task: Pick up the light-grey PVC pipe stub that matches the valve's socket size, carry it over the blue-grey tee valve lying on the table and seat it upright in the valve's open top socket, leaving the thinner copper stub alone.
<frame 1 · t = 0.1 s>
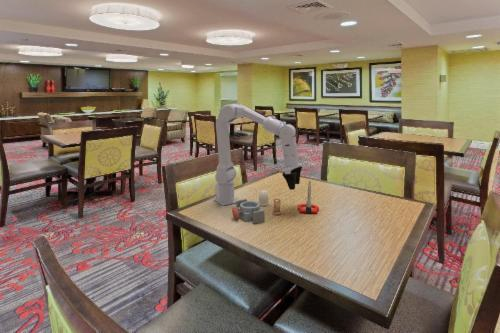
hand: (294, 186, 134), 11 cm above the table, fingers open, 7 cm apart
valve: (249, 216, 131), on the table
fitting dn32: (276, 213, 133), on the table
tow hook: (308, 210, 138), on the table
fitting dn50: (263, 204, 144), on the table
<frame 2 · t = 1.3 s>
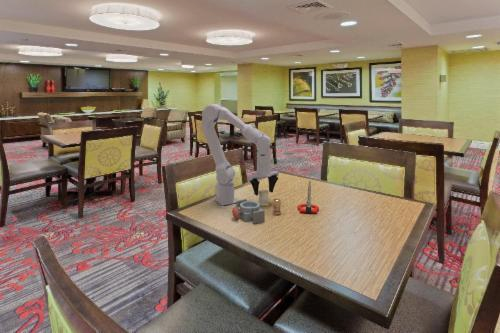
hand: (263, 193, 143), 5 cm above the table, fingers open, 7 cm apart
nothing on the table moved.
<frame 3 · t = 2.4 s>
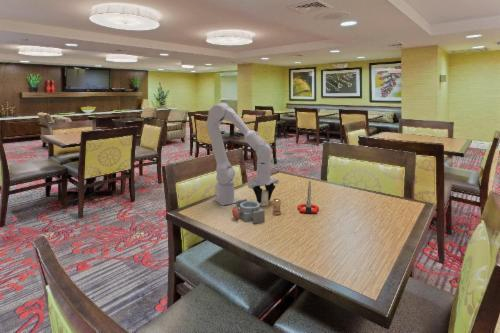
hand: (263, 201, 144), 1 cm above the table, fingers closed on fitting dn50, 4 cm apart
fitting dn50: (263, 204, 144), on the table, touching gripper
everything else where it was.
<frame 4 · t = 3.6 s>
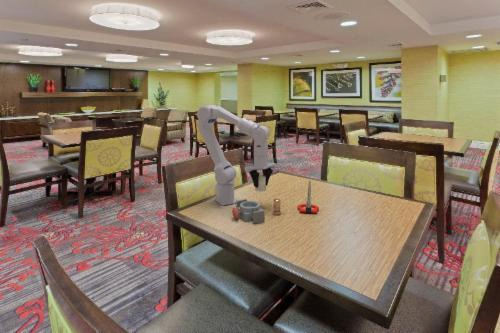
hand: (260, 186, 139), 9 cm above the table, fingers closed on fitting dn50, 4 cm apart
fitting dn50: (260, 189, 139), point 8 cm above the table, touching gripper
everything else where it was.
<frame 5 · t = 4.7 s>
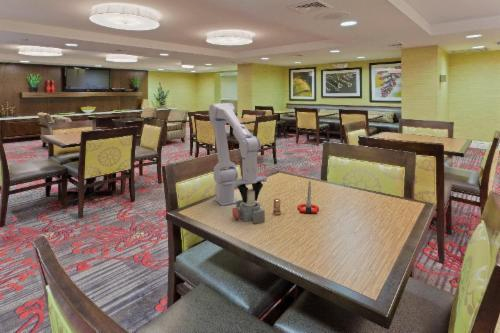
hand: (249, 201, 129), 6 cm above the table, fingers closed on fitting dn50, 4 cm apart
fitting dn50: (249, 204, 130), point 5 cm above the table, touching gripper
everything else where it was.
when the fingers open (6 cm above the table, at t = 5.2 s): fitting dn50 stays where it is, resting on valve.
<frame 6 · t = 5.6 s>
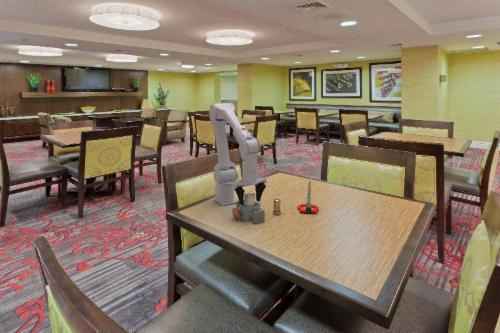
hand: (249, 202, 129), 6 cm above the table, fingers open, 7 cm apart
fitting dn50: (249, 208, 130), point 3 cm above the table, touching valve
everything else where it was.
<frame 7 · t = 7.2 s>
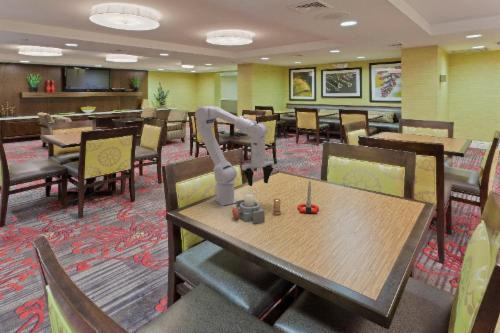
hand: (258, 184, 138), 10 cm above the table, fingers open, 7 cm apart
nothing on the table moved.
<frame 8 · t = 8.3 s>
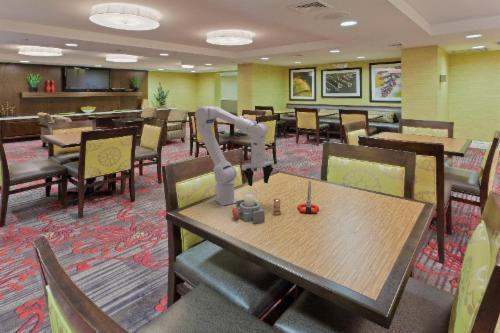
hand: (258, 184, 138), 10 cm above the table, fingers open, 7 cm apart
nothing on the table moved.
at the end: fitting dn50 0.2 cm off-centre on the valve, point 3.2 cm above the valve's base; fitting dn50 tilted 0°; the gripper is holding nothing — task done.
